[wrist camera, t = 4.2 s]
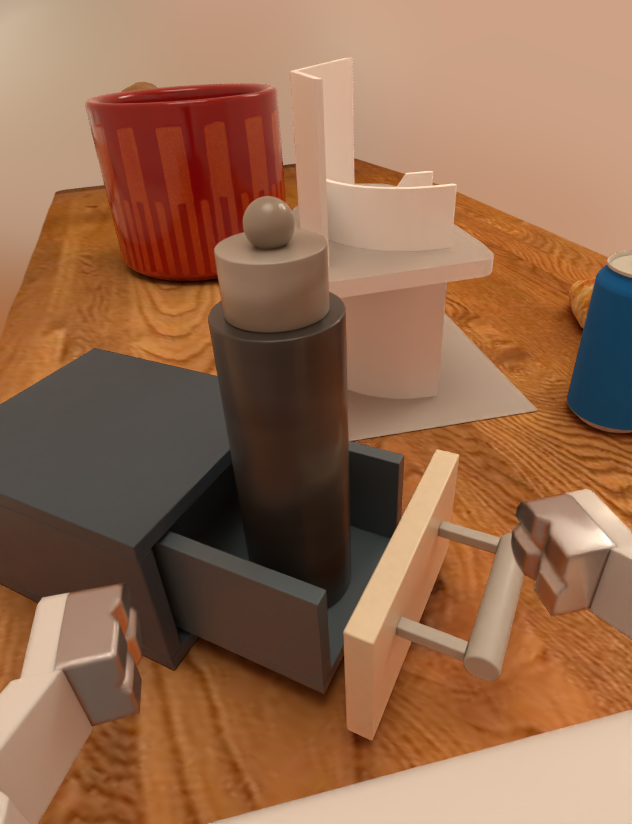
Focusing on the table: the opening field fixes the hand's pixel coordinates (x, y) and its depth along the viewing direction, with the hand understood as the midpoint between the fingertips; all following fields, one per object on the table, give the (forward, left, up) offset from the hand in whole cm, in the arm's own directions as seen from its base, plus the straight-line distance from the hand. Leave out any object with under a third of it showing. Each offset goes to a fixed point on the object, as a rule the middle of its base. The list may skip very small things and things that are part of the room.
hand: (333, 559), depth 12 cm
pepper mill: (+10, +7, -15) cm, 19 cm away
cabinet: (+10, +18, -17) cm, 27 cm away
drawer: (+10, +5, -16) cm, 19 cm away
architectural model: (+38, +15, -17) cm, 44 cm away
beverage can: (+35, -7, -17) cm, 39 cm away
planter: (+56, +46, -17) cm, 74 cm away
